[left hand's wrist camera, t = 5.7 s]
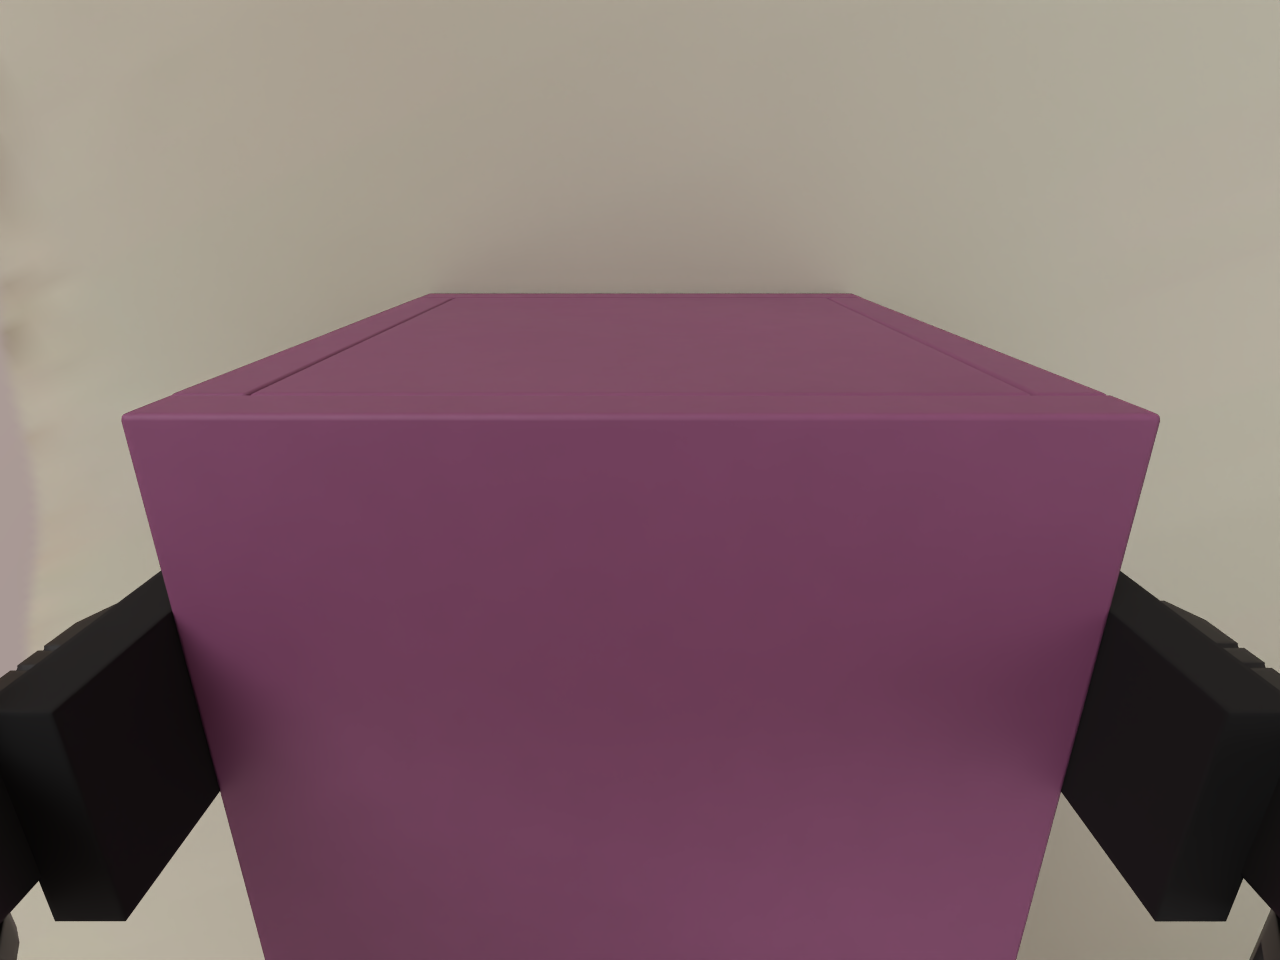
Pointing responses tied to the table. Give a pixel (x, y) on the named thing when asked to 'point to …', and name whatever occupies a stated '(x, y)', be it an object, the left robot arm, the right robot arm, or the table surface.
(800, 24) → the table surface
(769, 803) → the cabinet
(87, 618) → the left robot arm
